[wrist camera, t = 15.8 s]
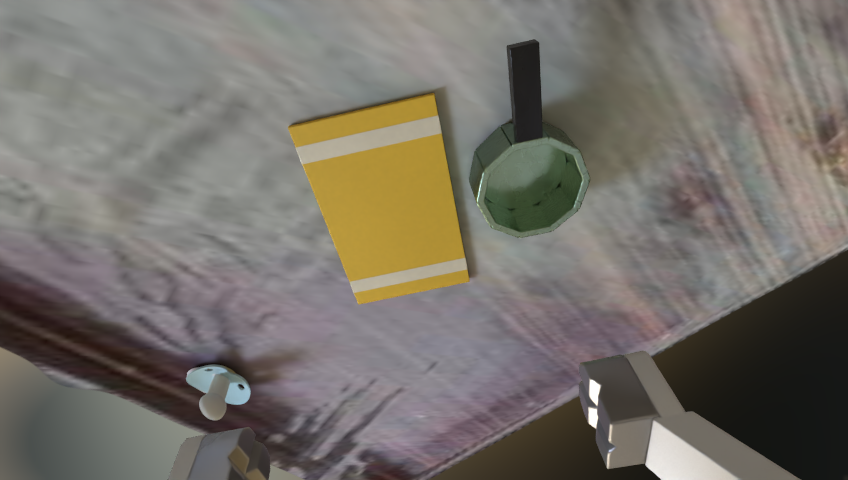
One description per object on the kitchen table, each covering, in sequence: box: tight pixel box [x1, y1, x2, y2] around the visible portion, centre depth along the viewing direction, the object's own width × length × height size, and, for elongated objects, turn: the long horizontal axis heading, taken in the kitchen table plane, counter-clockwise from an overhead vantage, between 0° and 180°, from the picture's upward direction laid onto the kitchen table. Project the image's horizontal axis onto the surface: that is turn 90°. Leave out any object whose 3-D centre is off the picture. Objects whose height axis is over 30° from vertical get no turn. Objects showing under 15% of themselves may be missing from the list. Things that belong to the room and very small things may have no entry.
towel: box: [288, 93, 470, 304], centre depth 42 cm, size 20×12×1 cm, turn 11°
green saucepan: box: [469, 39, 590, 238], centre depth 36 cm, size 16×9×4 cm, turn 11°
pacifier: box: [186, 365, 251, 420], centre depth 50 cm, size 7×6×6 cm
